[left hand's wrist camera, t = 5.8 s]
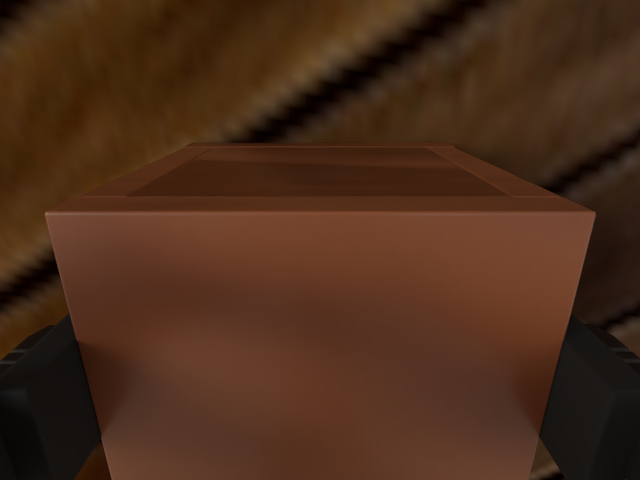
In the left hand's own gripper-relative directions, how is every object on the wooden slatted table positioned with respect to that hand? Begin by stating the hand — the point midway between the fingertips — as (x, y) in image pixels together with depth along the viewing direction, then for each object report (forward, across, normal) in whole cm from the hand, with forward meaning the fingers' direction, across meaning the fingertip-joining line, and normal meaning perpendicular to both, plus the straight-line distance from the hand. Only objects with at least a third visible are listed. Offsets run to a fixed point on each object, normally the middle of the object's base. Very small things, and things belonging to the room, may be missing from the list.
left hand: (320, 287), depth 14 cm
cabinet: (+5, 0, -5) cm, 7 cm away
